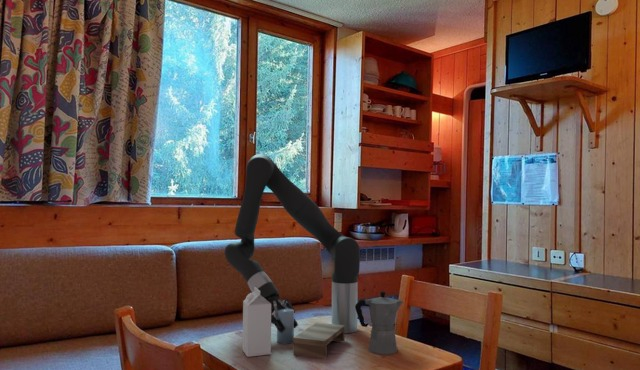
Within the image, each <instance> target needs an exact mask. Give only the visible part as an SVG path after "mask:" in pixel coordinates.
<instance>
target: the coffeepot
mask: <svg viewBox="0 0 640 370" xmlns="http://www.w3.org/2000/svg"><path fill="white" fill-rule="evenodd" d="M385 296H386V291H384V290H382V291H381V290H380V296H379V297H374V298H369V299H359V300H357V304H356V305H355V309H356V312H357V319H358V320H359V323H360V326H361V327H364V328H365V327H366V328H367V327H369V323H365V318H364V315H363V310H362V307H363V306H364V307H368V311H369V315H370V322H371V327H372V328H371V332H370V338H369V344H368V351H369V352H370V353H373V354H375V355H393V354H396V353H397V352H398V346H397V345H398V344H397V339H396V331H395V321H396V315H397V312H398V310H399V309H400V307H401V305H402V304H404V302H403V300H400V299H394V298H389V297H385Z"/></svg>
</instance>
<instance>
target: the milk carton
mask: <svg viewBox="0 0 640 370" xmlns="http://www.w3.org/2000/svg"><path fill="white" fill-rule="evenodd" d="M242 351H243V353H244V354H245V356H246V357H248V358H249V357H257V356H265V355H271V354H272V323H271V303H270V302H268V301H267V300H266V299H265V298H264V297H262V296H261V295H260V291H259V290H258V289H257V288H255V287H254V291H253V292H252V291H251V292H250V293H248V294H247V295H246V297H245V299H244V300H243V301H242Z"/></svg>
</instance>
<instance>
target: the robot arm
mask: <svg viewBox="0 0 640 370" xmlns="http://www.w3.org/2000/svg"><path fill="white" fill-rule="evenodd" d="M245 167H246V168H245V185H244V186H245V187H244V192H243V197H242V202H241V205H240V208H239V211H238V215H237V218H236V223H235V227H234V234H235V236H236V237H238V238H239V239H240V241H238V242H232V243H228V244H227V245H226V246H225V249H224V255H225V259H226V261H227V262H228V264H230V265H231V267H233V268H234V269H235V271H237V272H238V273H240V274H241V275H242V277H243V279H244V280H245V282H246V283H247V286H248V288H249V289H250V291H251V293H252V292H253V291H254V287H255V288H257V289H258V290H259V291H260V295H261V296H262V297H264V298H265V299H266V300H267V301H268V302H270V303H271V324H273V325H274V326H275V328H276V330H277V329H278V331H279V332H280V333H282V332H283V331H284V330H285V327H284V325H283V324H282V322H281V321H280V319H279V318H278V310H279V309H293V310H294V314H295V313H296V310H295V309H294V307H293V305H292V303H291V301H290V299H289V298H285V299H282V298H281V297H280V292H279V290H278V289H277V287H276V285H275V284H274V283H273V281H272V280H271V278H270V277H269V275H268V274H267V273H266V272H265V270H264V269H263V267H262V266H261V264H260V263H259V262H258V261H257V260H254V259H253V260H252V257H253V256H254V253H255V231H256V228H257V224H258V219H259V216H260V215H259V214H260V208H261V207H260V206H261V202H262V197H263V194H264V192H265V189H266V187H267V188H268V189H269V190H270V191H271V192H272V193H273V194H274V196H276V198H277V200H278V202H279V203H280V205H282V207H283V209H284V210H285V211H286V213H288V215H289V216H290V217H291V218H292V219H293V220H294V221H295V222H297V224H299V225H300V226H301V227H302V228H303V229H304V230H306V231H307V232H308V233H309V234H310V235H312V236H313V237H314V238H315V239H316V240H318V242H319V243H321V245H322V246H323V247H324V248H325V250H326V251H327V252H328V254H329V255H330V256H331V257H332V258H333V259H334V271H333V273H331V324H335V325H345V334H353V333H356V332H357V331H358V315H357V312H356V309H355V305H356V304H357V303H358V277H359V273H360V263H361V262H360V261H361V251H360V244H359V243H358V242H357V240H356V239H354V238H352V237H348V236H345V235H344V234H342V233H341V232H339V231H338V229H336V228H335V227H334V226H333V225H331V223H330V222H329V221H328V219H327V217H326V216H325V213H323V211H322V209H321V208H320V207H319V206H318V204H316V203H315V201H313V199H311V198H310V197H309V195H307V194H306V193H305V192H304V191H303V190H301V188H300V187H298V186H297V185H296V184H294V183H293V182H292V181H291V180H290V179H289V178H288V177H287V176H286V175H285V174H284V172H283V171H282V170H281V169H280V168H279V166H277V164H276V163H275V162H274V161H273V159H272V158H271V157H270V156H269V155H266V154H262V153H257V154H255V155H253V156H252V157H251V158H250V159H249V160H248V161H247V163H246V166H245ZM278 319H279V320H278ZM298 326H299V324H298V321H297V320H296V319H295V318H294V329H296V328H297V327H298Z"/></svg>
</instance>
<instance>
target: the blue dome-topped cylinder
mask: <svg viewBox="0 0 640 370" xmlns="http://www.w3.org/2000/svg"><path fill="white" fill-rule="evenodd" d="M294 310H295V309H294ZM294 310H293V309H284V308H283V309H279V310H278V318H279V319H280V321H281V322H282V324H283V325H284V327H285V330H284V331H283V332H282V333H280V332H279V331H278V329H277V328H276V343H277V344H282V345H287V344H292V343H293V344H294V337H295V334H294V333H295V330H294V329H295V328H294V319H295V313H294ZM279 319H278V320H279Z"/></svg>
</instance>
